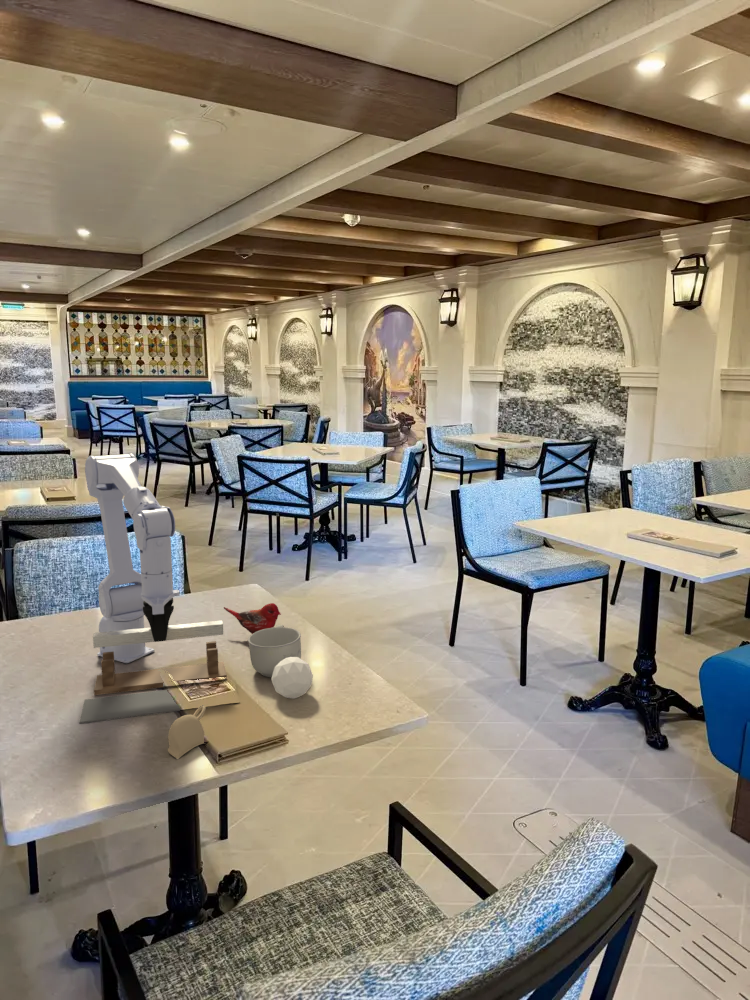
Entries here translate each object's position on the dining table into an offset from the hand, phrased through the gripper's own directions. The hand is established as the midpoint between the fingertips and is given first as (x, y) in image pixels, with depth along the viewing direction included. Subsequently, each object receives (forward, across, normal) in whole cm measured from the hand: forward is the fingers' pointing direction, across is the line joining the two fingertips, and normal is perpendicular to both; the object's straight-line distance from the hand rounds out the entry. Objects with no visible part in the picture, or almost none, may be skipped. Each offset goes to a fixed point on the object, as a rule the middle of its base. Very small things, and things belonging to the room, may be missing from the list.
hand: (160, 638), depth 135 cm
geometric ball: (+10, -11, -24) cm, 28 cm away
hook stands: (+10, +4, 0) cm, 11 cm away
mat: (+10, -7, 0) cm, 12 cm away
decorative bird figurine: (+10, +20, -20) cm, 31 cm away
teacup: (+10, +3, -23) cm, 26 cm away
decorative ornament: (+11, -24, -4) cm, 26 cm away
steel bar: (0, 0, 0) cm, 0 cm away
